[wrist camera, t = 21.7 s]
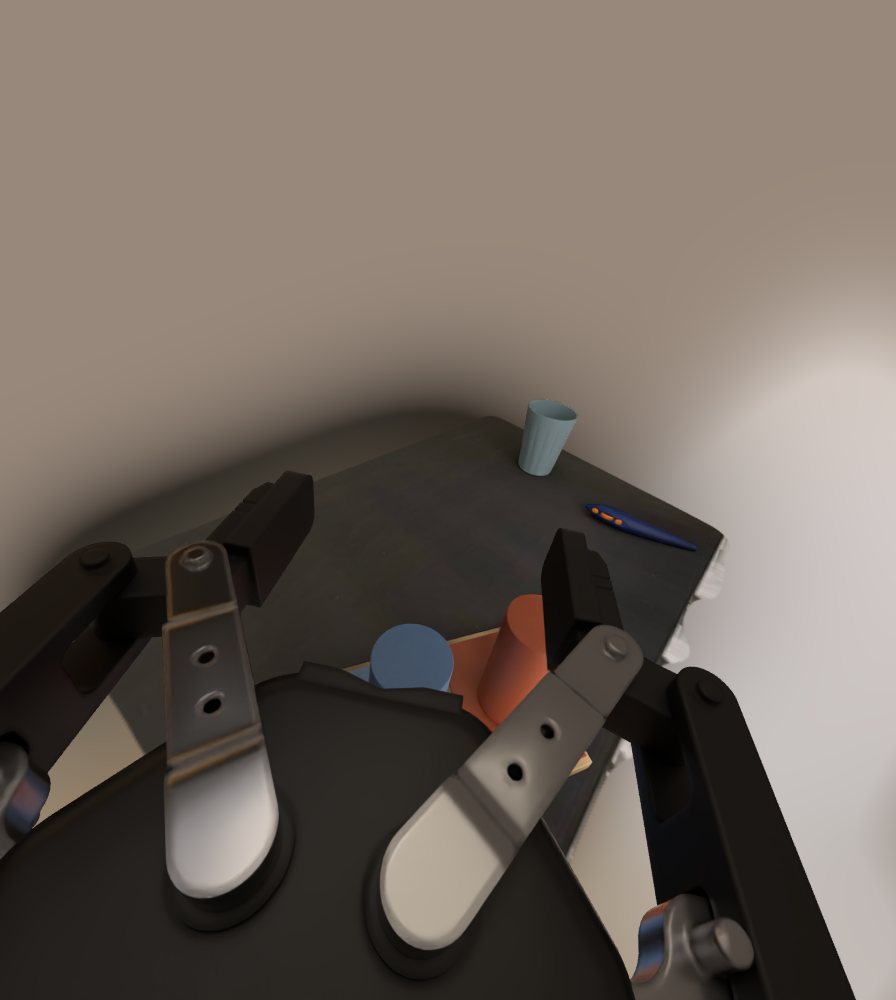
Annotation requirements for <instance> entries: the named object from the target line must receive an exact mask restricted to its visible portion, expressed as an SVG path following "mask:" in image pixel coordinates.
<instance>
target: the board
mask: <svg viewBox="0 0 896 1000" xmlns="http://www.w3.org/2000/svg"><path fill="white" fill-rule="evenodd" d="M499 630H500V627H499V628H495V629H492V630H488V631H484V632H480V633H476V634H473V635H469V636H465V637H461V638H457V639H454V640H450V641H446V642H447V643H448V645H449V646H450V648H451V651H452V654H453V660H454V666H453V672H452V675H451V679H450V682H449V686H448V689H447V692H449V693H454V694H459V695H463V706H462V708H463V709H464V710H466V711H468V712H470V713H471V714H473V715H474V716H476V717H477V718H478V719H480V720H481V721H482V722H483V723H484V724H485V725H486V726H487V727H488V728H489V729H490V730H491V731H492V732H494V731H495V729H496V728H497V727H498V726H499V725H500V724H498V723H496V722H494V721H493V720H492V719H491V718H490V717H488V715H487V714H486V713H485V712H484V710H483V708H482V706H481V704H480V701H479V697H478V687H479V684H480V681H481V678H482V675H483V673H484V670H485V667H486V665H487V662H488V659H489V657H490V654H491V651H492V649H493V646H494V643H495V640H496V638H497V635H498V632H499ZM343 670H345V671H347V672H349V673H351V674H353V675H355V676H357V677H359V678H361V679H363V680H365V681H367V682H369V670H370V662H366V663H363V664H359V665H355V666H351V667H347V668H344V669H343ZM591 763H592V761H591V759H590V758H589V756H588V754H587V753H586V751H585V753H584V754H583V756H582V757H581V759H580V760H579V762H578V763H577V765H576V766H575V767H574V769H573V770H572V772H571V773H570V775H569V776H571V775H573V774H576V773H578V772H580V771H582V770H584V769H586V768H588V767H589V766H590V765H591ZM569 776H568V777H569Z"/></svg>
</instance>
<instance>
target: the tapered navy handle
mask: <svg viewBox="0 0 896 1000" xmlns="http://www.w3.org/2000/svg"><path fill="white" fill-rule="evenodd" d="M585 507H586V508H587V509H588V510H589V511H590V512H591V513H592V514H593V515H594V516H595V517H597V518H598V519H600V520H601V521H603V522H605V523H606V524H608V525H611V526H613V527H615V528H618V529H620V530H623V531H625V532H628V533H631V534H634V535H637V536H640V537H643V538H647V539H650V540H654V541H657V542H661V543H664V544H668V545H672V546H676V547H679V548H683V549H688V550H692V551H696V550H697V545H696V544H694V543H692V542H689V541H687V540H685V539H682V538H680V537H678V536H676V535H674V534H671V533H669V532H667V531H665V530H663V529H660V528H658V527H656V526H654V525H651V524H649V523H647V522H645V521H642V520H640V519H638V518H637V517H634V516H632V515H630V514H628V513H626V512H624V511H622V510H619V509H617V508H614V507H611V506H607V505H601V504H586V505H585Z"/></svg>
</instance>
